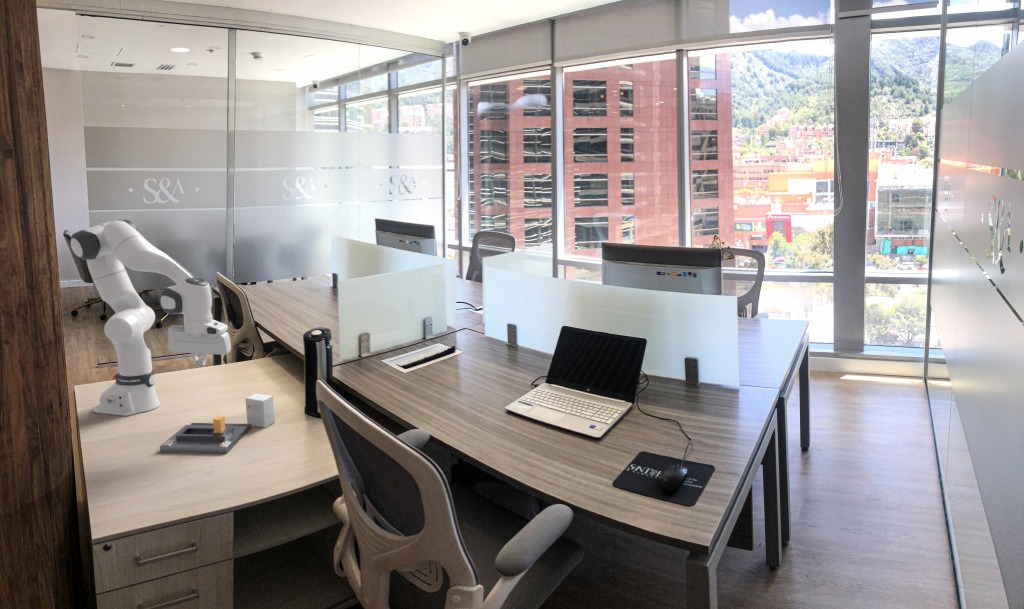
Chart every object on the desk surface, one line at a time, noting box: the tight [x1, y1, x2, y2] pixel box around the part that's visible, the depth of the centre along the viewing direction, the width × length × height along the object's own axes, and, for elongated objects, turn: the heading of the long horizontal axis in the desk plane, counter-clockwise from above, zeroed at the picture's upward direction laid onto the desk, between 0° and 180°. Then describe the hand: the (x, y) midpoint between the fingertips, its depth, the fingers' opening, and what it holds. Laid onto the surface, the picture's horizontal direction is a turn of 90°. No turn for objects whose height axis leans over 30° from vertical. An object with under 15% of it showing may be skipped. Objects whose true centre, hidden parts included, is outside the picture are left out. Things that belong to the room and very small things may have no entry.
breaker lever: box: [211, 415, 228, 435], centre depth 223 cm, size 4×4×6 cm
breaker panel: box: [159, 424, 249, 454], centre depth 223 cm, size 22×18×4 cm
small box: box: [245, 393, 276, 429], centre depth 239 cm, size 8×6×10 cm
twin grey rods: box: [190, 422, 253, 431], centre depth 235 cm, size 22×3×1 cm, turn 91°
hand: (200, 365), depth 224 cm, fingers closed
